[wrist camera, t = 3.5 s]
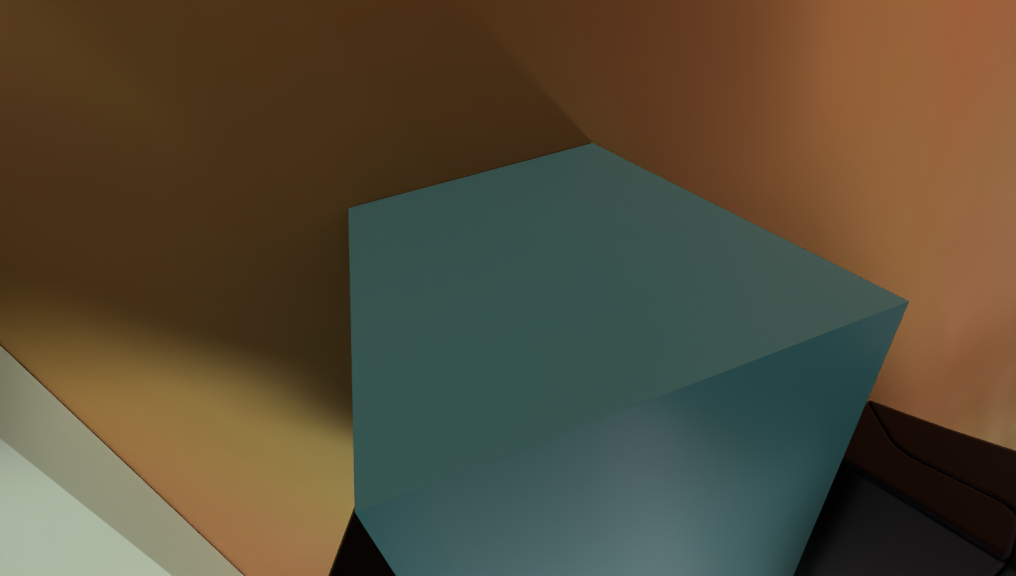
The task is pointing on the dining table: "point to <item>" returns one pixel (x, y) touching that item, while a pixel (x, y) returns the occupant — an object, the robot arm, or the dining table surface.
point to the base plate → (81, 499)
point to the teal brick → (597, 376)
